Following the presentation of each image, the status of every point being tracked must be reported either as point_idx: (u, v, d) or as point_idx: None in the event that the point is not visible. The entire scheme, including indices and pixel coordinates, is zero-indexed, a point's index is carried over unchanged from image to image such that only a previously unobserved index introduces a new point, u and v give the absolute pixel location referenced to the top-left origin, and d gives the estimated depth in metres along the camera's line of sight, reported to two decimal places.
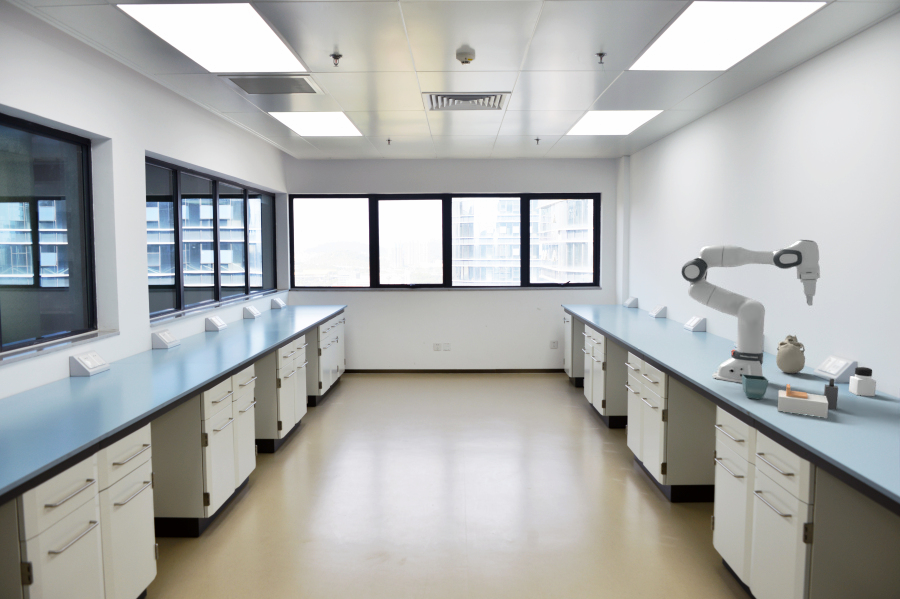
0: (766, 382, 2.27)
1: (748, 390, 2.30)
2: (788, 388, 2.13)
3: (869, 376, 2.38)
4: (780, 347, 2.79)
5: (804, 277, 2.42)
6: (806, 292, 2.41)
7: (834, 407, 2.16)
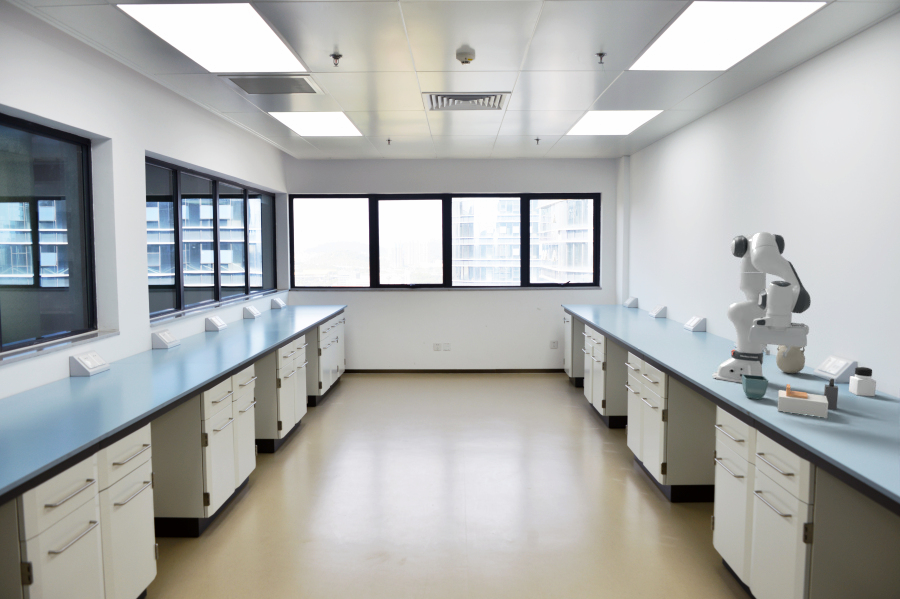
0: (766, 382, 2.27)
1: (748, 390, 2.30)
2: (788, 388, 2.13)
3: (869, 376, 2.38)
4: (780, 347, 2.79)
5: None
6: None
7: (834, 407, 2.16)
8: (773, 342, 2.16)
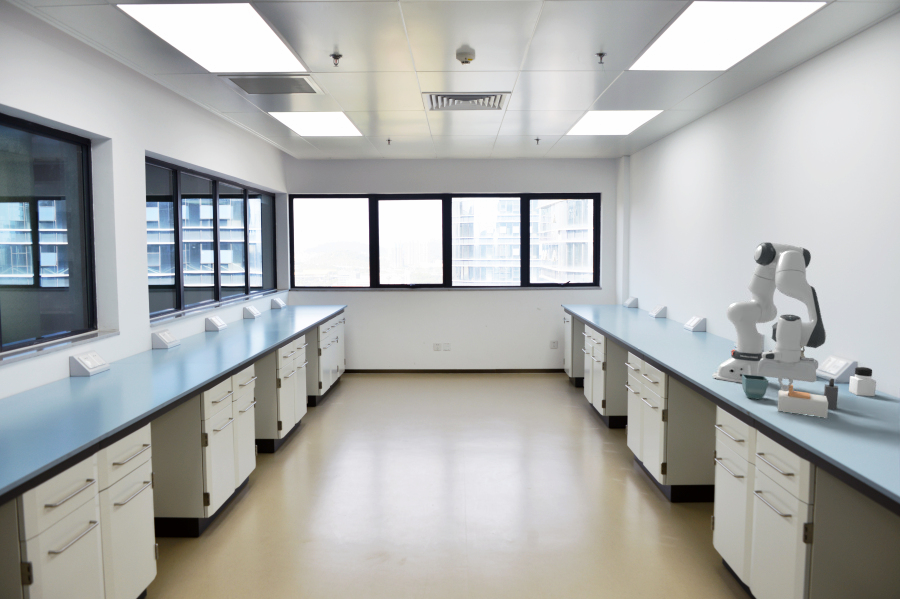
0: (766, 382, 2.27)
1: (748, 390, 2.30)
2: (791, 388, 2.13)
3: (869, 376, 2.38)
4: None
5: None
6: None
7: (834, 407, 2.16)
8: (782, 376, 2.15)
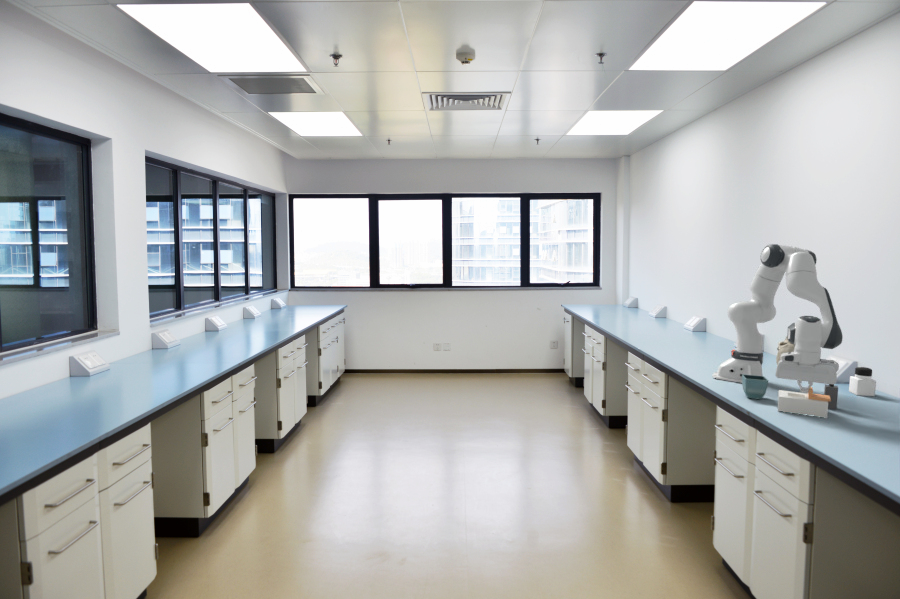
0: (766, 382, 2.27)
1: (748, 390, 2.30)
2: (811, 391, 2.09)
3: (869, 376, 2.38)
4: (780, 347, 2.79)
5: None
6: None
7: (834, 407, 2.16)
8: (802, 379, 2.11)
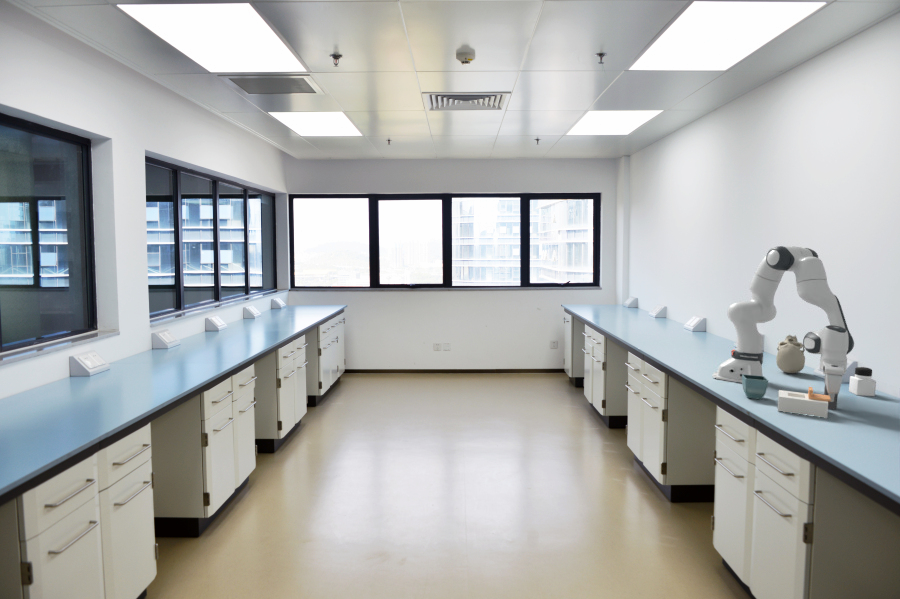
0: (766, 382, 2.27)
1: (748, 390, 2.30)
2: (811, 391, 2.09)
3: (869, 376, 2.38)
4: (780, 347, 2.79)
5: (829, 371, 2.11)
6: (829, 389, 2.10)
7: (834, 407, 2.16)
8: None
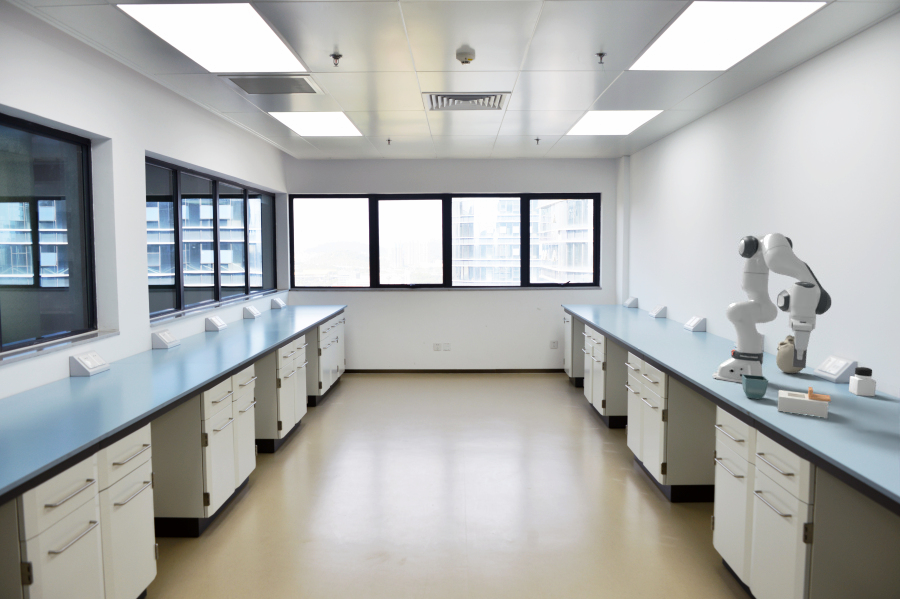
0: (766, 382, 2.27)
1: (748, 390, 2.30)
2: (811, 391, 2.09)
3: (869, 376, 2.38)
4: (780, 347, 2.79)
5: (797, 327, 2.05)
6: (797, 345, 2.05)
7: (803, 365, 2.11)
8: None
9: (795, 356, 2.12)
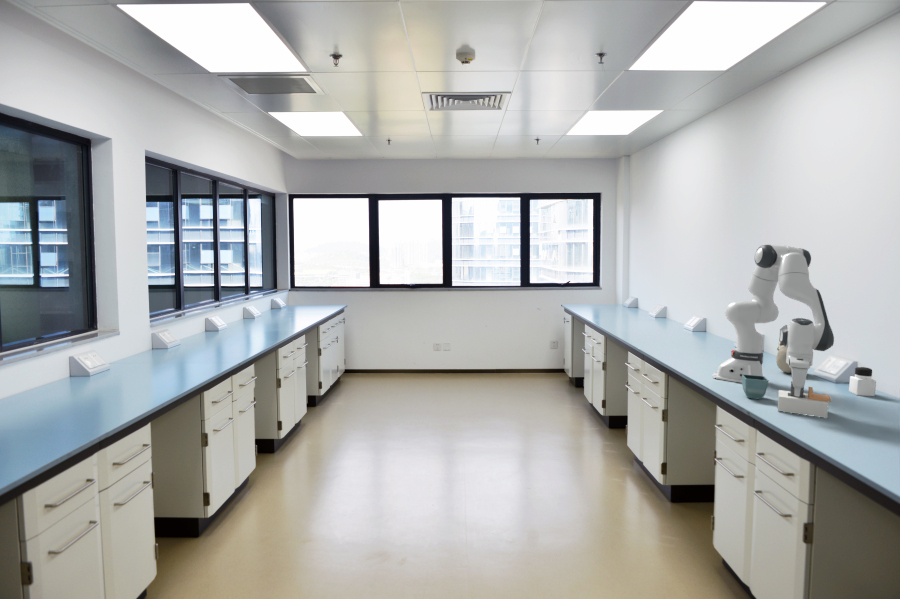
0: (766, 382, 2.27)
1: (748, 390, 2.30)
2: (811, 391, 2.09)
3: (869, 376, 2.38)
4: (780, 347, 2.79)
5: (794, 365, 2.07)
6: (794, 383, 2.06)
7: None
8: None
9: (792, 395, 2.13)
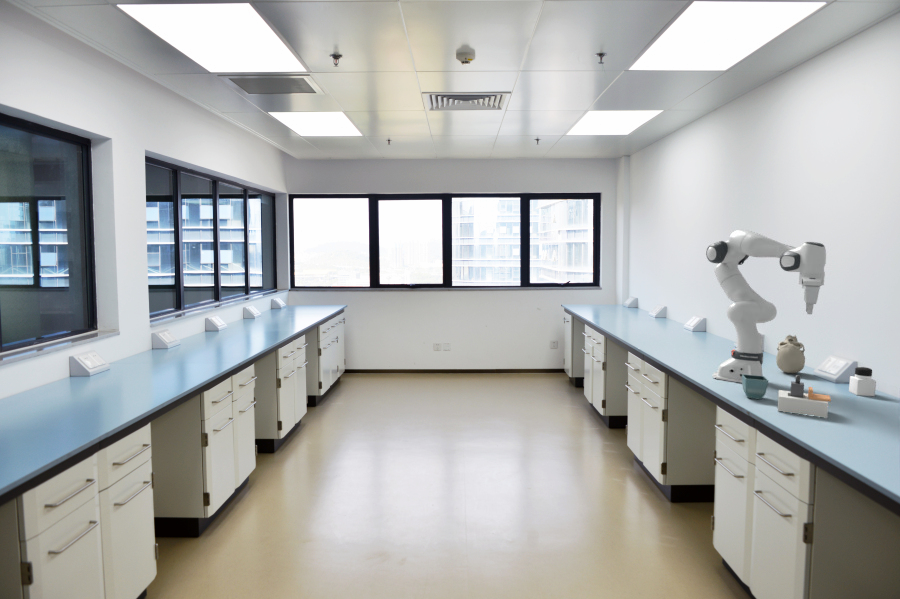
0: (766, 382, 2.27)
1: (748, 390, 2.30)
2: (811, 391, 2.09)
3: (869, 376, 2.38)
4: (780, 347, 2.79)
5: (807, 283, 2.21)
6: (807, 299, 2.20)
7: None
8: None
9: (792, 395, 2.13)
